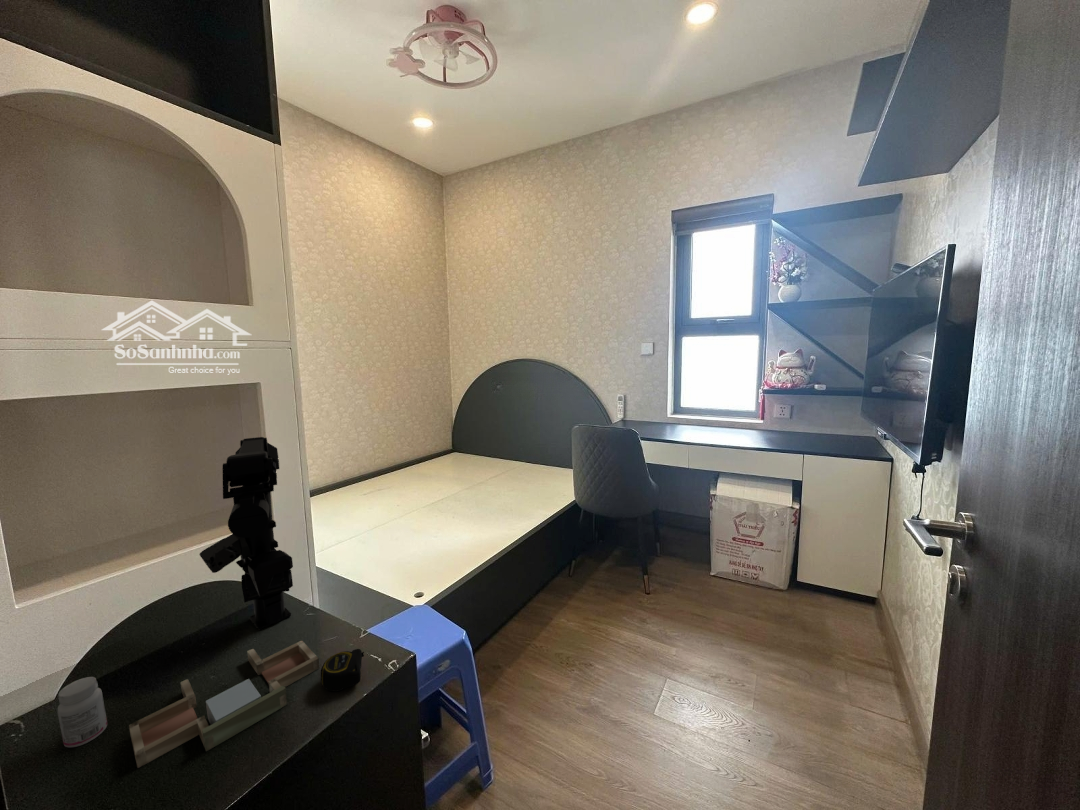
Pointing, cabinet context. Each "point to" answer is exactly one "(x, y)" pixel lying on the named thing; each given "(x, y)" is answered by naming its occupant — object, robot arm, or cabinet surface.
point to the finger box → (182, 723)
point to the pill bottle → (81, 712)
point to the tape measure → (342, 670)
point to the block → (231, 701)
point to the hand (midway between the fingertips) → (262, 594)
